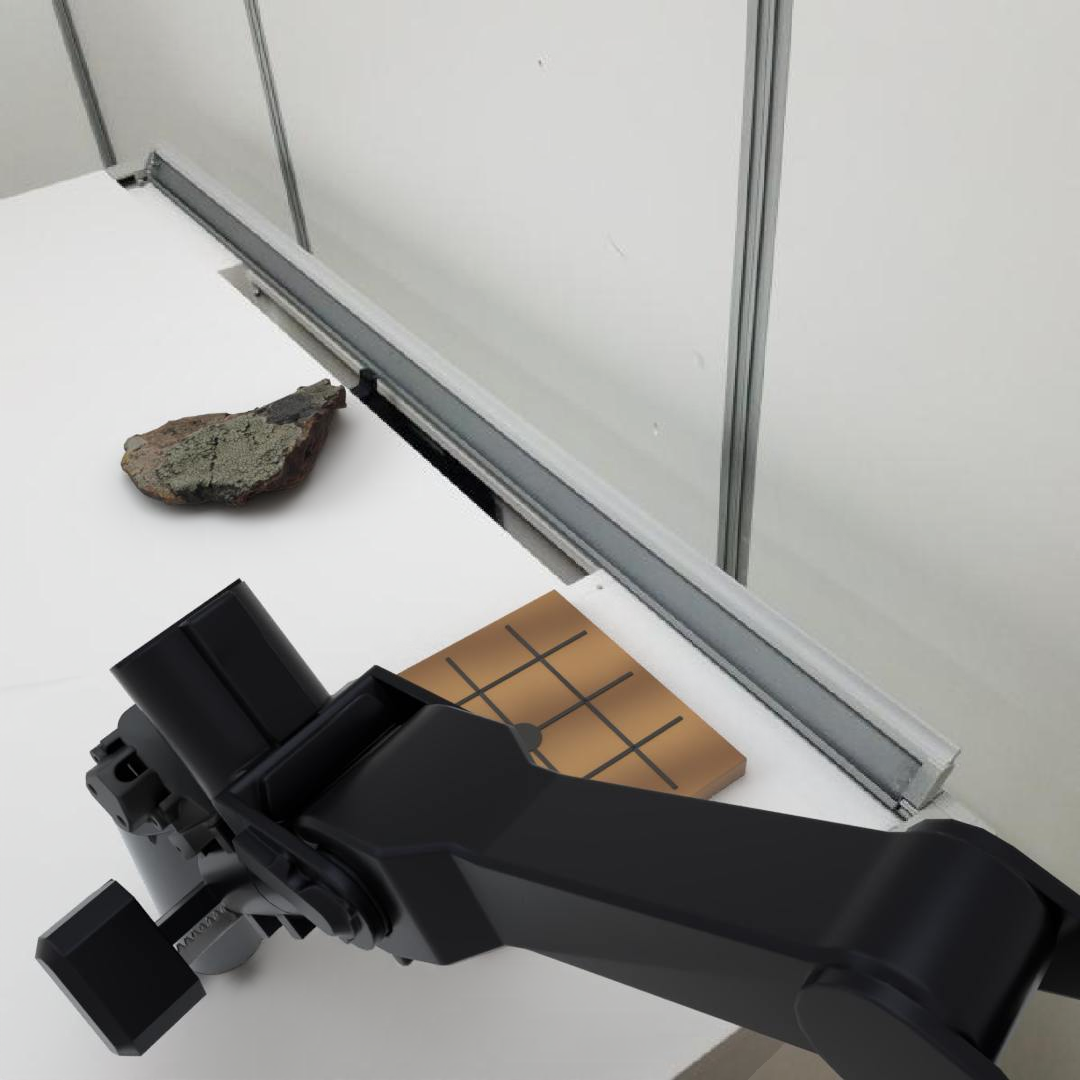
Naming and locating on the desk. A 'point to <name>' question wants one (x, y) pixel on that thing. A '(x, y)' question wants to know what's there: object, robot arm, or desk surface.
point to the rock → (234, 449)
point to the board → (580, 702)
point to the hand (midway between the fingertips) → (204, 857)
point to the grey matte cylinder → (174, 880)
